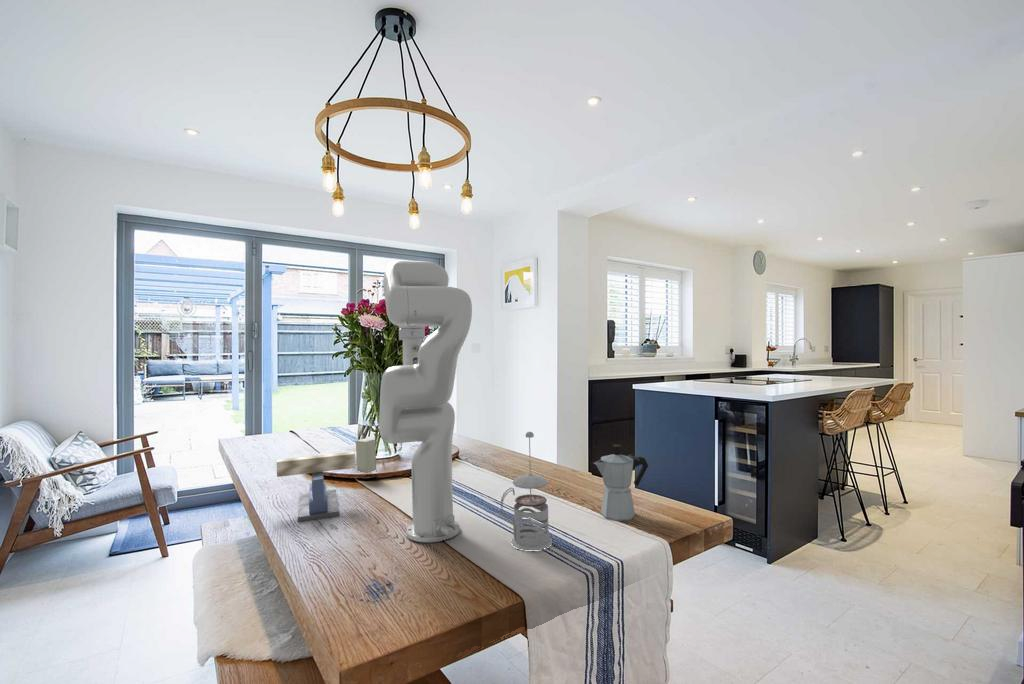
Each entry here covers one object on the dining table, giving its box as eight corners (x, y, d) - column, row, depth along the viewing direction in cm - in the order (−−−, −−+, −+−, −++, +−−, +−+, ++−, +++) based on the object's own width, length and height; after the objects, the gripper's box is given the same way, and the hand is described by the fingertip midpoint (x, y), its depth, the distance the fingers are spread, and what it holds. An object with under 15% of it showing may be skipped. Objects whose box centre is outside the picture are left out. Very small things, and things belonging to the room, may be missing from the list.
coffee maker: (601, 523, 119) (599, 450, 118) (588, 511, 127) (587, 443, 127) (656, 517, 122) (655, 446, 121) (640, 505, 130) (639, 439, 130)
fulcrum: (339, 515, 127) (338, 478, 127) (297, 522, 123) (296, 483, 123) (335, 493, 146) (335, 460, 146) (299, 498, 142) (298, 464, 142)
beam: (276, 477, 129) (276, 462, 129) (277, 474, 132) (277, 459, 132) (355, 467, 137) (354, 453, 137) (354, 465, 140) (354, 451, 139)
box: (377, 477, 162) (376, 439, 161) (366, 481, 158) (365, 441, 158) (366, 475, 164) (365, 437, 164) (356, 478, 161) (355, 440, 161)
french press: (557, 550, 104) (554, 435, 104) (503, 553, 103) (501, 437, 103) (549, 532, 114) (547, 426, 114) (500, 535, 113) (498, 428, 113)
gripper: (430, 334, 137) (432, 394, 137) (418, 335, 153) (419, 388, 153) (404, 334, 134) (405, 396, 134) (394, 335, 150) (395, 390, 150)
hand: (413, 392), depth 144 cm, fingers open, 9 cm apart
